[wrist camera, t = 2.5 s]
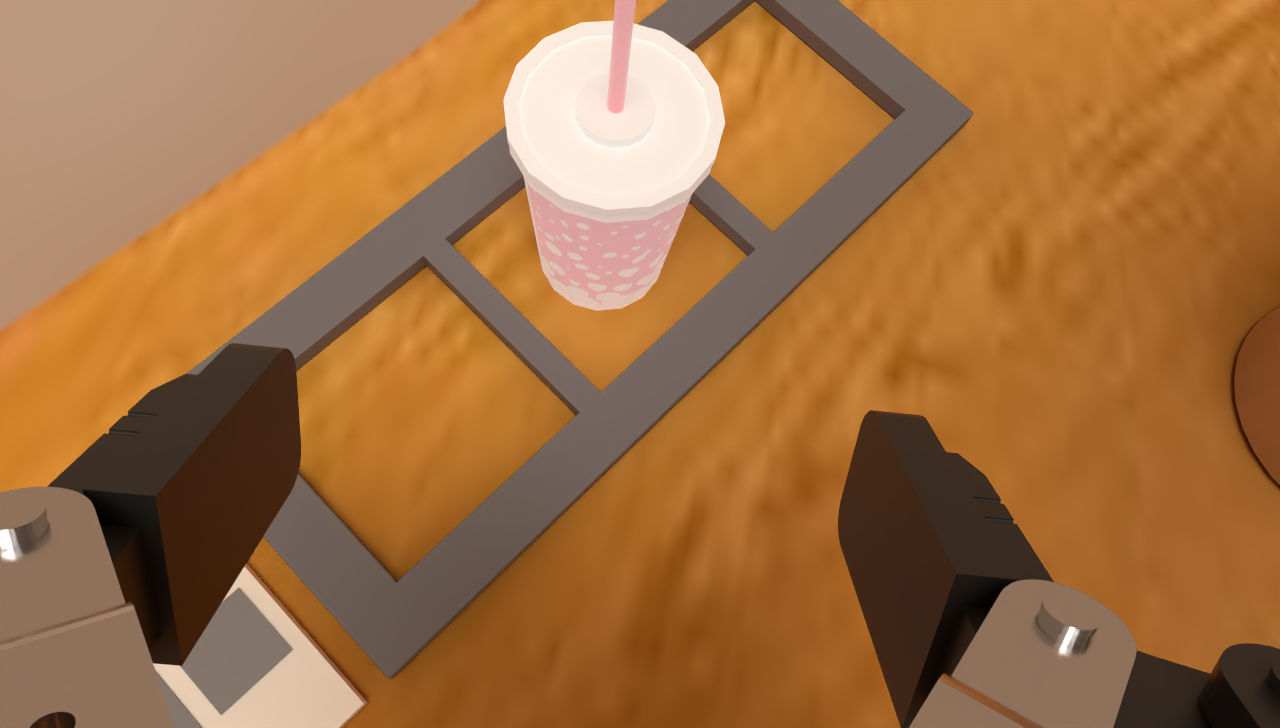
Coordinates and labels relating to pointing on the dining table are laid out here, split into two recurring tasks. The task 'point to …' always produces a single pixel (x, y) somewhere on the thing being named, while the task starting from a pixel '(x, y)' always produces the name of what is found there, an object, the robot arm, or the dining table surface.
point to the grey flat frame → (606, 421)
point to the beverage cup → (610, 152)
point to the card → (257, 670)
